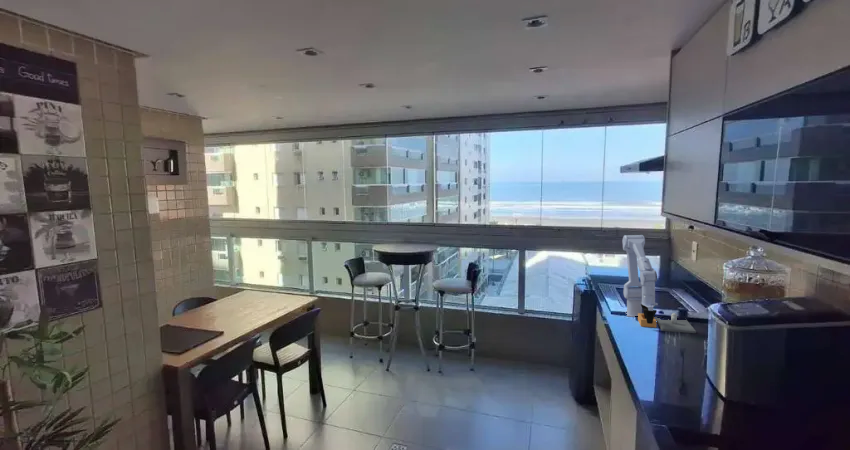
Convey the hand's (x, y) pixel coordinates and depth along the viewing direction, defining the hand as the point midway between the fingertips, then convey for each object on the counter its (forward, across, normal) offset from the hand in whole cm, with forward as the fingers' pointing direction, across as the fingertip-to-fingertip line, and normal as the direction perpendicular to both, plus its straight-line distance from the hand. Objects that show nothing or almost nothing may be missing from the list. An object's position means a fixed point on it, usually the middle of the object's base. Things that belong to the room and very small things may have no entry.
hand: (648, 321), depth 198 cm
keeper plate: (+3, +5, -12) cm, 13 cm away
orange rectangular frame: (+3, +5, 0) cm, 6 cm away
